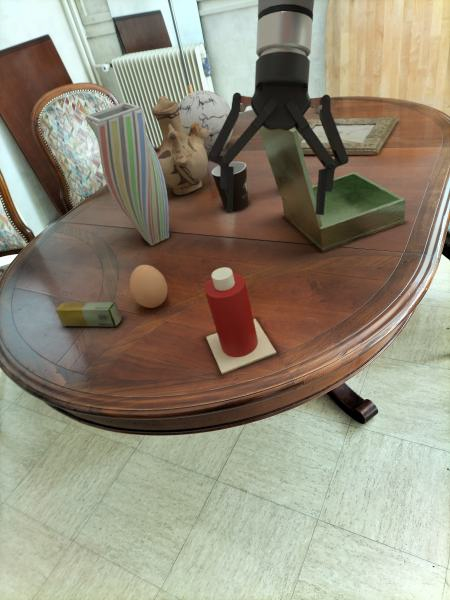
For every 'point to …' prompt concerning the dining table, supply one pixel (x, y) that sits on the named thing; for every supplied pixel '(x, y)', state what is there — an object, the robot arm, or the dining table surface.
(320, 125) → the picture frame
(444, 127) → the dining table surface
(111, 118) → the vase
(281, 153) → the lid
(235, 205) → the coffee mug
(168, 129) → the ceramic vessel
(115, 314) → the medication box
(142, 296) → the egg
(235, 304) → the ketchup
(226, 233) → the dining table surface
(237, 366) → the mat
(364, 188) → the green square tray
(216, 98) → the decorative sphere
